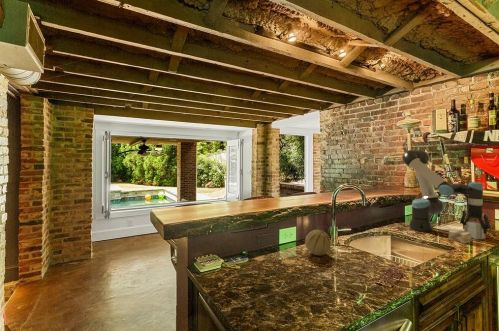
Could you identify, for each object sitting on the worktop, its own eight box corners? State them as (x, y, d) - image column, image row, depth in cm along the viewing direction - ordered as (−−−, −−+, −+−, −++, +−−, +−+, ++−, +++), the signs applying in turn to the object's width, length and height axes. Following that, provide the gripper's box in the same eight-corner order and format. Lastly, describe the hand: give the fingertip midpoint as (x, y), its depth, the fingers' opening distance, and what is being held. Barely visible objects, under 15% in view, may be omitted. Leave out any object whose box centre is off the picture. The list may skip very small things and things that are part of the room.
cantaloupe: (303, 249, 157) (303, 226, 156) (327, 249, 156) (327, 226, 155) (307, 259, 142) (307, 233, 141) (333, 259, 141) (333, 233, 141)
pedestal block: (448, 239, 172) (448, 231, 172) (455, 237, 177) (455, 229, 176) (464, 243, 164) (464, 234, 164) (471, 241, 168) (471, 232, 168)
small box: (483, 239, 172) (484, 224, 171) (475, 239, 172) (476, 224, 171) (473, 235, 180) (474, 221, 179) (465, 235, 180) (466, 221, 179)
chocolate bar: (373, 284, 115) (373, 280, 115) (387, 270, 128) (388, 267, 128) (391, 290, 110) (391, 285, 110) (403, 275, 123) (403, 271, 123)
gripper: (454, 202, 183) (453, 232, 184) (492, 207, 163) (491, 241, 164) (460, 201, 186) (459, 231, 187) (498, 206, 166) (497, 240, 167)
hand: (474, 236), depth 176 cm, fingers closed on small box, 9 cm apart
